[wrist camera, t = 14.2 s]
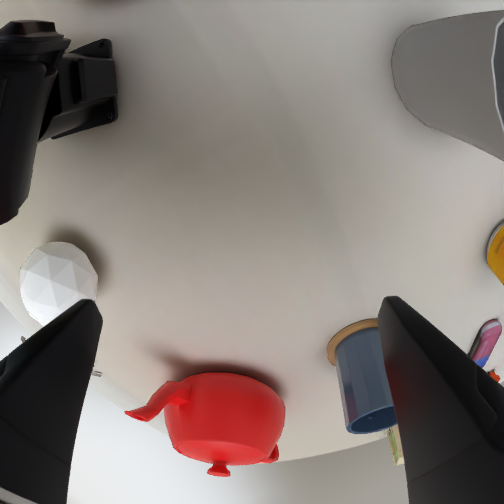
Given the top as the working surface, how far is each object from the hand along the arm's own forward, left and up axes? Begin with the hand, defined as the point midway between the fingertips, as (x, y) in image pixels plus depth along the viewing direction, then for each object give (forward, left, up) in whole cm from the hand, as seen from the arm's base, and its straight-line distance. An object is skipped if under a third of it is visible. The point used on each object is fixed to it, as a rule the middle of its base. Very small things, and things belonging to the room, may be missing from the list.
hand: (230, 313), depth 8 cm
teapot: (-5, -28, -13) cm, 31 cm away
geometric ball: (-17, -7, -13) cm, 23 cm away
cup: (+14, +8, -13) cm, 21 cm away
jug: (+11, -20, -12) cm, 26 cm away
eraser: (+33, -24, -13) cm, 43 cm away
